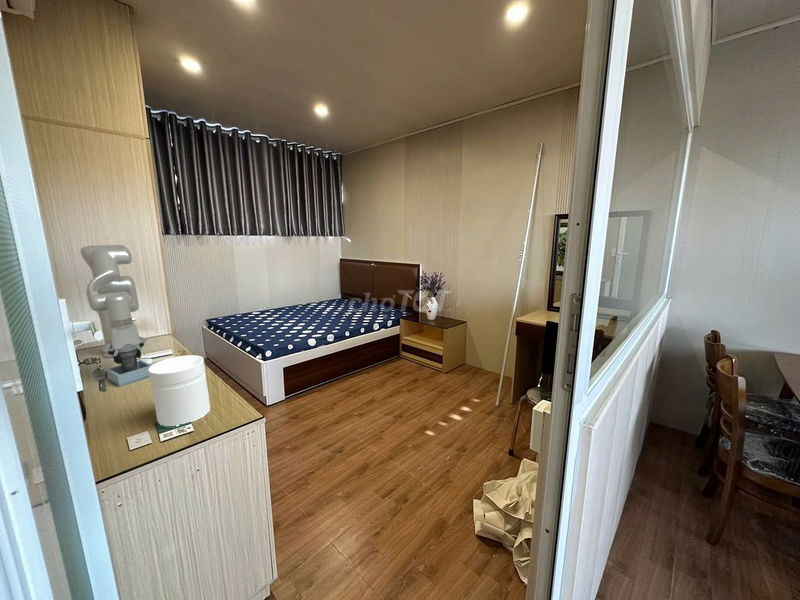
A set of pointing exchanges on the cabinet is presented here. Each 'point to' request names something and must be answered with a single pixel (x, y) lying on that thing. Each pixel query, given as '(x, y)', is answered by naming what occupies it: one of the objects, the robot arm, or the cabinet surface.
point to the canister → (179, 390)
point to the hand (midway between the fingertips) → (128, 360)
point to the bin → (128, 374)
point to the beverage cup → (128, 357)
